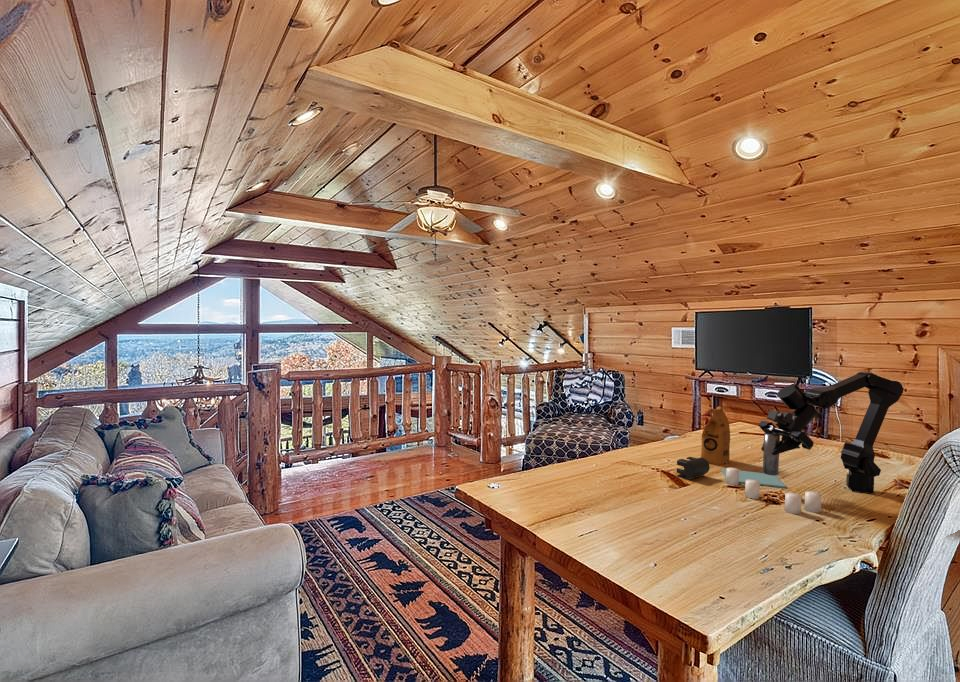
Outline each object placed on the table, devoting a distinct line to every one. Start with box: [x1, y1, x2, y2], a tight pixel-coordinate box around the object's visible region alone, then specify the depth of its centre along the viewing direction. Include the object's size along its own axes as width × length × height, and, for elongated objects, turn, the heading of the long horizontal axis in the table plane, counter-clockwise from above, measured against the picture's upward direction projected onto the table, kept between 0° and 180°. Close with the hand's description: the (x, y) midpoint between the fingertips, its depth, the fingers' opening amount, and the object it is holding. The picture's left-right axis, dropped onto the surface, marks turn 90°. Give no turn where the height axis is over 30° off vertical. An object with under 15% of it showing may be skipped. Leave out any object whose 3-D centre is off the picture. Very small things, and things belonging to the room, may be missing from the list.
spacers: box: [725, 467, 822, 515], centre depth 152 cm, size 14×29×5 cm, turn 11°
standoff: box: [762, 432, 781, 476], centre depth 155 cm, size 4×4×13 cm
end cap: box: [676, 456, 711, 480], centre depth 170 cm, size 10×7×7 cm
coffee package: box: [700, 405, 731, 466], centre depth 191 cm, size 10×12×22 cm
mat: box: [720, 468, 788, 489], centre depth 169 cm, size 18×14×1 cm
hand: (767, 452), depth 155 cm, fingers closed on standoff, 4 cm apart
